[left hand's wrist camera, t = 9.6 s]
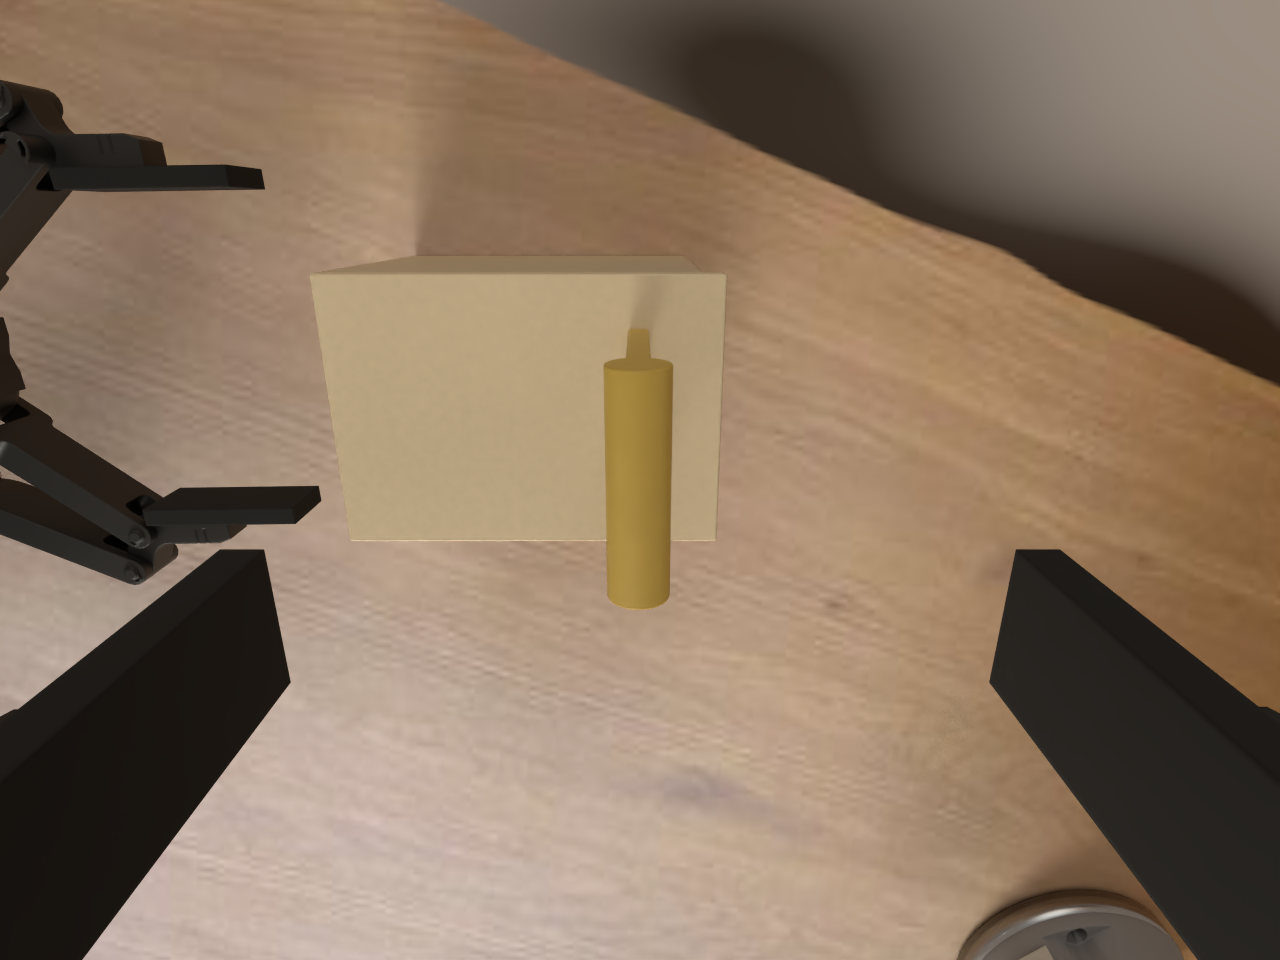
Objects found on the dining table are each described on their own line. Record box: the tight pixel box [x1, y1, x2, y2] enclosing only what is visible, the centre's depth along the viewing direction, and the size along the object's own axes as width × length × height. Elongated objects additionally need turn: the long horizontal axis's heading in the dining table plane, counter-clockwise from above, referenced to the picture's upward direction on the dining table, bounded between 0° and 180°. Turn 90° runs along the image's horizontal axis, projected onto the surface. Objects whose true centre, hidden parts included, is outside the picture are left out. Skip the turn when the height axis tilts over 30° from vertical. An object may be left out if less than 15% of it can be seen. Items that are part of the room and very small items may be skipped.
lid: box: [310, 272, 727, 610], centre depth 22 cm, size 14×10×9 cm
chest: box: [323, 256, 702, 272], centre depth 32 cm, size 13×10×11 cm
